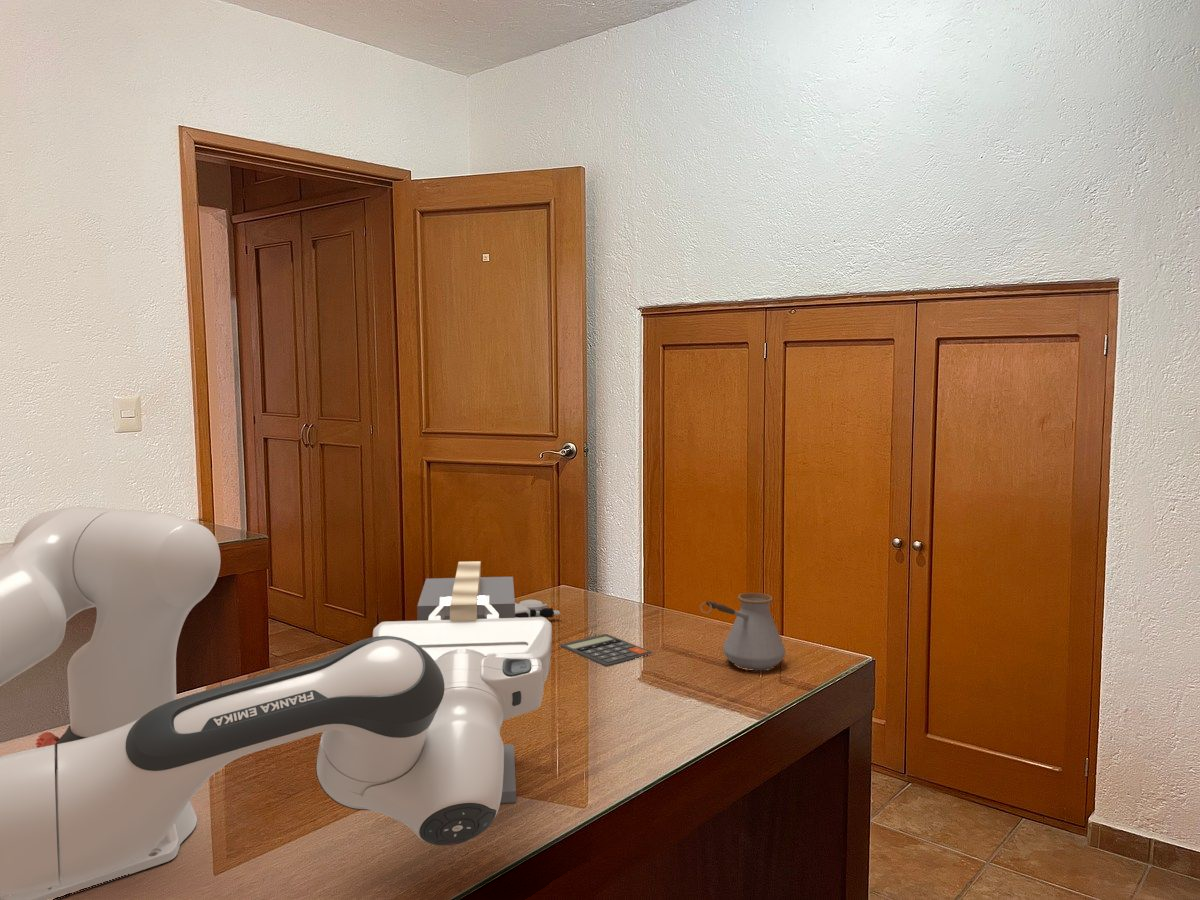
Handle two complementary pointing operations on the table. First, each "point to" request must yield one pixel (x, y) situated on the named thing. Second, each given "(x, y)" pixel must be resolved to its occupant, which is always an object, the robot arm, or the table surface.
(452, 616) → the maple bar
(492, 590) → the charcoal stand
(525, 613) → the robot toy
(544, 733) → the table surface
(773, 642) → the coffee pot
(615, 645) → the calculator
